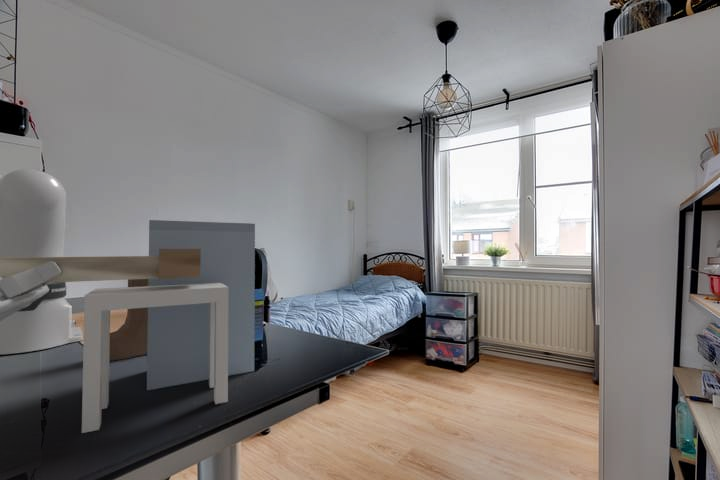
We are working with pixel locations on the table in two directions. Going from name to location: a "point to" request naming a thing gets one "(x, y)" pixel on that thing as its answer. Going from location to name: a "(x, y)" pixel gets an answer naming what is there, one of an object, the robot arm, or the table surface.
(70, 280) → the long tan plank
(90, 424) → the stool
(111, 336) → the wooden block
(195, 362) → the tall blue-grey box
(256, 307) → the label tape box
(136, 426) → the table surface
